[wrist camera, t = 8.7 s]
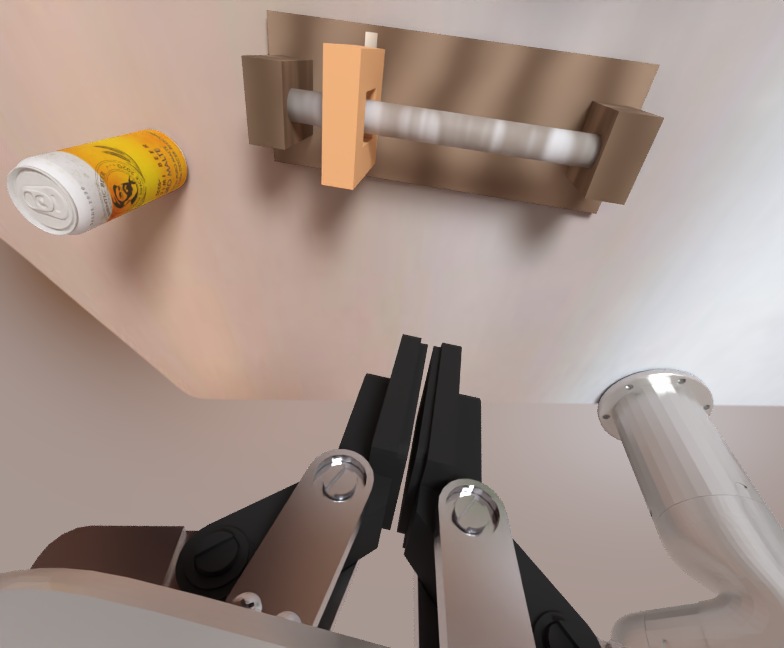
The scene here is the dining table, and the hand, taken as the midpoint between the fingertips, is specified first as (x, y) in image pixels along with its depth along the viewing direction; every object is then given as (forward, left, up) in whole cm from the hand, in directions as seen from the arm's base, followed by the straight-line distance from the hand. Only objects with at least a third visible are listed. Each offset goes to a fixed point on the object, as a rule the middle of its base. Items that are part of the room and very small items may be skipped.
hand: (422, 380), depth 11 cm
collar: (+9, +3, -31) cm, 32 cm away
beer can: (+22, +22, -32) cm, 45 cm away
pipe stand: (+3, -1, -32) cm, 32 cm away
